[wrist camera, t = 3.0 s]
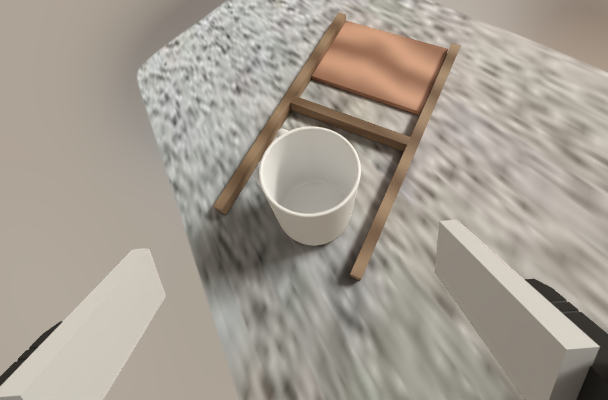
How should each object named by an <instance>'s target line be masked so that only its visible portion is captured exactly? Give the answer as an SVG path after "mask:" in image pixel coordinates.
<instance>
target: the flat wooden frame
mask: <svg viewBox="0 0 608 400" xmlns="http://www.w3.org/2000/svg"><path fill="white" fill-rule="evenodd" d="M345 21H346V14H342V13H338V14H337V16H336V17H335V19H334V21H333V22H332V24H331V25H330V27H329V28H328V30H327V31H326V33H325V34H324V36H323V38H322V39H321V41H320V42H319V44H318V45H317V47H316V48H315V50H314V51H313V53H312V55H311V56H310V58H309V59H308V61H307V62H306V64H305V65H304V67H303V68H302V70H301V71H300V73H299V75H298V76H297V78H296V79H295V81H294V82H293V84H292V85H291V87H290V88H289V90H288V92H287V93H286V95H285V96H284V98H283V99H282V101H281V102H280V104H279V105H278V107H277V109H276V110H275V112H274V113H273V115H272V116H271V118H270V119H269V121H268V122H267V124H266V126H265V127H264V129H263V130H262V132H261V133H260V135H259V136H258V138H257V139H256V141H255V143H254V144H253V146H252V147H251V149H250V150H249V152H248V153H247V155H246V156H245V158H244V160H243V161H242V163H241V164H240V166H239V167H238V169H237V170H236V172H235V173H234V175H233V177H232V178H231V180H230V181H229V183H228V184H227V186H226V187H225V189H224V190H223V192H222V194H221V195H220V197H219V198H218V200H217V201H216V203H215V204H214V206H213V207H214V208H215V209H216V210H217V211H219V212H221V213H223V214H225V215H227V213H228V211H229V210H230V208H231V207H232V205H233V203H234V202H235V200H236V199H237V197H238V195H239V194H240V192H241V191H242V189H243V187H244V186H245V184H246V183H247V181H248V179H249V178H250V176H251V175H252V173H253V171H254V170H255V168H256V167H257V165H258V163H259V162H260V160H261V158H262V157H263V155H264V153H265V151H266V150H267V148H268V147H269V146H270V144H271V142H272V141H273V139H274V138H275V136H276V133H277V131H278V130H279V129H280V128H281V126H282V125H283V123H284V122H285V120H286V118H287V117H288V115H289V114H290V112H291V110H292V111H295V112H297V113H300V114H303V115H305V116H308V117H311V118H314V119H316V120H319V121H322V122H324V123H327V124H330V125H332V126H335V127H338V128H341V129H343V130H346V131H349V132H351V133H354V134H357V135H359V136H362V137H365V138H368V139H370V140H373V141H376V142H378V143H381V144H384V145H387V146H389V147H392V148H395V149H397V150H400V151H403V152H404V153H403V155H402V157H401V160H400V162H399V164H398V166H397V169H396V171H395V173H394V175H393V178H392V180H391V182H390V184H389V187H388V189H387V191H386V194H385V196H384V198H383V200H382V203H381V205H380V207H379V209H378V212H377V214H376V216H375V218H374V221H373V223H372V225H371V228H370V230H369V232H368V234H367V237H366V239H365V241H364V243H363V246H362V248H361V250H360V252H359V255H358V257H357V259H356V261H355V264H354V266H353V268H352V271H351V273H350V275H349V276H351V277H353V278H355V279H357V280H359V281H360V280H361V278H362V276H363V274H364V271H365V269H366V267H367V264H368V262H369V260H370V257H371V255H372V253H373V250H374V248H375V246H376V243H377V241H378V239H379V236H380V234H381V232H382V229H383V227H384V224H385V222H386V220H387V217H388V215H389V213H390V210H391V208H392V206H393V203H394V201H395V199H396V196H397V194H398V192H399V189H400V187H401V185H402V182H403V180H404V178H405V175H406V173H407V171H408V168H409V166H410V163H411V161H412V159H413V156H414V154H415V152H416V149H417V147H418V145H419V142H420V140H421V138H422V135H423V133H424V131H425V128H426V126H427V124H428V121H429V119H430V117H431V114H432V112H433V110H434V107H435V105H436V103H437V100H438V98H439V95H440V93H441V91H442V88H443V86H444V84H445V81H446V79H447V77H448V74H449V72H450V70H451V67H452V65H453V63H454V60H455V58H456V56H457V53H458V51H459V49H460V46H461V45H457V44H453V43H452V44H451V47H450V49H449V51H448V49H446V48H443V47H439V46H435V45H432V44H428V43H424V42H421V41H417V40H414V39H410V38H406V37H403V36H399V35H395V34H392V33H388V32H385V31H381V30H377V29H374V28H370V27H366V26H363V25H359V24H355V23H352V22H348V21H346V22H345ZM447 51H448V53H447ZM446 54H447V55H446ZM445 56H446V58H445ZM444 58H445V60H444ZM443 60H444V62H443ZM442 63H443V64H442ZM441 65H442V67H441ZM440 67H441V69H440ZM439 70H440V71H439ZM438 72H439V74H438ZM437 74H438V76H437ZM436 76H437V78H436ZM311 78H312V79H313V80H316V81H319V82H322V83H325V84H328V85H331V86H334V87H337V88H340V89H343V90H346V91H349V92H352V93H355V94H358V95H361V96H364V97H367V98H370V99H373V100H376V101H379V102H382V103H385V104H388V105H391V106H394V107H397V108H400V109H403V110H406V111H409V112H411V113H414V114H417V115H420V117H419V119H418V121H417V123H416V126H415V128H414V130H413V132H412V135H411V137H409V136H406V135H403V134H400V133H397V132H395V131H392V130H389V129H386V128H383V127H381V126H378V125H375V124H372V123H369V122H366V121H364V120H361V119H358V118H355V117H352V116H350V115H347V114H344V113H341V112H338V111H336V110H333V109H330V108H327V107H324V106H322V105H319V104H316V103H313V102H310V101H307V100H305V99H302V98H300V96H301V94H302V93H303V91H304V90H305V88H306V86H307V85H308V83H309V82H310V80H311ZM435 79H436V80H435ZM434 81H435V83H434ZM433 83H434V85H433ZM432 85H433V87H432ZM431 88H432V89H431ZM430 90H431V92H430ZM429 92H430V94H429ZM428 94H429V96H428ZM427 97H428V98H427ZM426 99H427V101H426ZM425 101H426V103H425ZM424 103H425V105H424ZM423 106H424V107H423ZM422 108H423V110H422ZM421 110H422V112H421ZM420 112H421V114H420Z"/></svg>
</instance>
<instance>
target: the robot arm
mask: <svg viewBox="0 0 608 400" xmlns="http://www.w3.org/2000/svg"><path fill="white" fill-rule="evenodd" d="M435 273H436V275H437V276H438V278H439V279H440V280H441V282H442V283H443V285H444V286H445V287H446V289H447V290H448V292H449V293H450V295H451V296H452V297H453V299H454V300H455V302H456V303H457V304H458V306H459V307H460V309H461V310H462V312H463V313H464V314H465V316H466V317H467V319H468V320H469V321H470V323H471V324H472V326H473V327H474V329H475V330H476V331H477V333H478V334H479V336H480V337H481V338H482V340H483V341H484V343H485V344H486V346H487V347H488V348H489V350H490V351H491V353H492V354H493V355H494V357H495V358H496V360H497V361H498V363H499V364H500V365H501V367H502V368H503V370H504V371H505V372H506V374H507V375H508V377H509V378H510V380H511V381H512V382H513V384H514V385H515V387H516V388H517V389H518V391H519V392H520V394H521V395H522V397H523V398H524V399H525V400H608V334H607V333H606V332H605V331H604V330H602V329H601V328H600V327H599V326H597V325H596V324H595V323H594V322H593V321H591V320H590V319H589V318H588V317H587V316H585V315H584V314H583V313H582V312H579V311H578V309H577V308H576V307H574V306H573V305H572V304H571V303H570V302H567V301H566V299H565V298H564V297H562V296H561V295H560V294H559V293H557V292H556V291H555V290H554V289H553V288H551V287H549V286H547V285H545V284H543V283H541V282H539V281H538V280H536V279H525V280H524V279H523V278H522V277H521V276H520V275H519V274H517V273H516V272H515V271H514V270H513V269H512V268H511V267H510V266H508V265H507V264H506V263H505V262H504V261H503V260H502V259H501V258H499V257H498V256H497V255H496V254H495V253H494V252H493V251H492V250H490V249H489V248H488V247H487V246H486V245H485V244H484V243H483V242H481V241H480V240H479V239H478V238H477V237H476V236H475V235H474V234H472V233H471V232H470V231H469V230H468V229H467V228H466V227H465V226H463V225H462V224H461V223H460V222H459V221H458V220H448V221H440V222H439V233H438V243H437V253H436V264H435ZM165 297H166V295H165V292H164V290H163V287H162V284H161V281H160V278H159V275H158V272H157V270H156V267H155V264H154V261H153V258H152V255H151V252H150V250H149V248H145V249H135V250H132V251H131V252H130V253H129V254H128V255H127V256H126V257H125V258H124V259H123V260H122V261H121V262H120V263H119V264H118V265H117V266H116V267H115V268H114V269H113V270H112V271H111V272H110V273H109V274H108V275H107V276H106V278H105V279H104V280H103V281H102V282H101V283H100V284H99V285H98V286H97V287H96V288H95V289H94V290H93V291H92V292H91V293H90V294H89V295H88V296H87V297H86V298H85V299H84V300H83V301H82V302H81V303H80V305H79V306H78V307H77V308H76V309H75V310H74V311H73V312H72V313H71V314H70V315H69V316H68V317H67V318H66V319H65V320H64V321H61V322H59V323H58V324H56V325H55V326H53V327H52V328H51V329H49V330H48V331H46V332H45V333H43V334H42V335H41V336H40V337H39V338H38V339H37V340H36V341H35V342H34V343H33V344H32V346H30V348H29V350H26V351H25V352H24V353H23V354H22V355H21V356H20V357H19V358H18V361H17V362H14V363H13V364H12V365H11V366H10V367H9V368H8V369H7V370H6V371H5V372H4V373H3V374H2V375H1V376H0V400H103V399H104V397H105V396H106V394H107V392H108V391H109V389H110V388H111V386H112V384H113V383H114V381H115V379H116V378H117V376H118V374H119V373H120V371H121V369H122V368H123V366H124V364H125V363H126V361H127V359H128V358H129V356H130V355H131V353H132V351H133V349H134V348H135V346H136V345H137V343H138V341H139V340H140V338H141V336H142V335H143V333H144V331H145V330H146V328H147V326H148V325H149V323H150V322H151V320H152V318H153V317H154V315H155V313H156V312H157V310H158V308H159V307H160V305H161V303H162V302H163V300H164V298H165Z"/></svg>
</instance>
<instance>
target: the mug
mask: <svg viewBox="0 0 608 400" xmlns="http://www.w3.org/2000/svg"><path fill="white" fill-rule="evenodd" d="M276 134H277V137H278V138H277V139H276V140H274V141H273V142H272V143H271V144H270V146H269V147H268V148H267V150H266V151H265V153H264V155H263V157H262V160H261V162H260V167H259V180H260V184H261V188H262V190H263V192H264V194H265V196H266V198H267V200H268V202H269V204H270V206H271V208H272V210H273V212H274V214H275V216H276V218H277V220H278V222H279V224H280V226H281V227H282V229H283V230H284V231H285V233H286V234H287V235H288V236H289V237H291V238H292V239H293V240H295V241H297V242H299V243H302V244H306V245H322V244H326V243H329V242H331V241H333V240H334V239H336V238H337V237H338V236H340V235H341V234H342V233H343V232H344V230H345V229H346V227H347V225H348V223H349V221H350V218H351V215H352V210H353V206H354V202H355V198H356V193H357V189H358V185H359V181H360V175H361V167H360V161H359V158H358V155H357V153H356V151H355V149H354V148H353V146H352V145H351V144H350V143H349V142H348V141H347V140H346V139H345V138H344V137H343V136H341V135H340V134H338V133H336V132H334V131H332V130H329V129H326V128H321V127H301V128H297V129H293V130H291V131H287V130H285V129H279V130H278V131H277V133H276Z"/></svg>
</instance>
